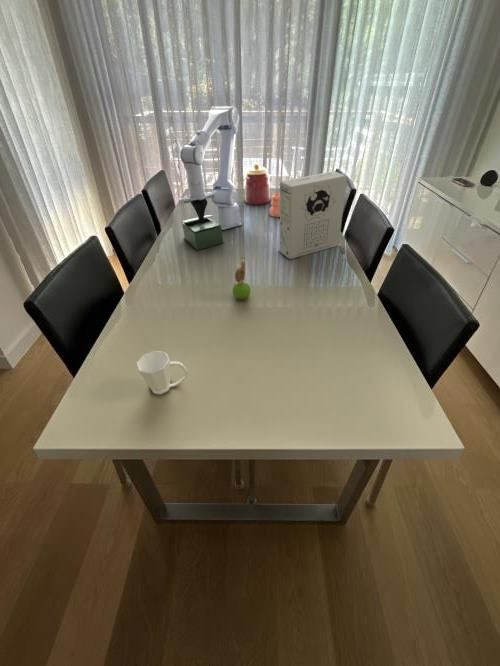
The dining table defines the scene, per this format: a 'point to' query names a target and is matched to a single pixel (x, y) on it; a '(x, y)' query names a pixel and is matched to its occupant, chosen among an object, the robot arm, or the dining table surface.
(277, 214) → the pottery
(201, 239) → the box
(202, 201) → the robot arm
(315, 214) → the cereal box
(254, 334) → the dining table surface
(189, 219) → the pale green slab
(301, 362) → the dining table surface
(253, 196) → the kitchen canister
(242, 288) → the figurine on green ball
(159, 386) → the cup
